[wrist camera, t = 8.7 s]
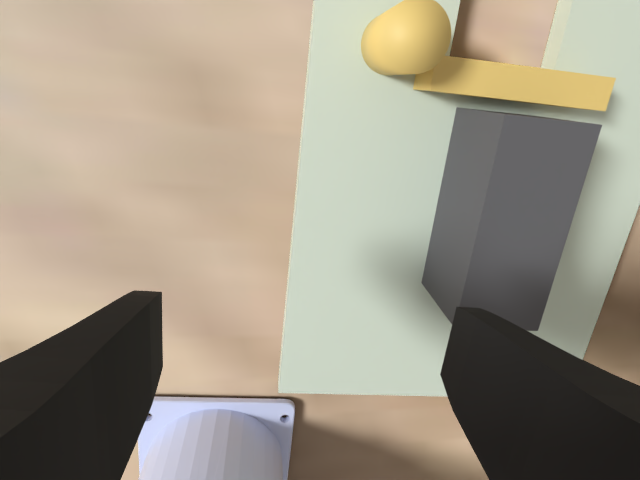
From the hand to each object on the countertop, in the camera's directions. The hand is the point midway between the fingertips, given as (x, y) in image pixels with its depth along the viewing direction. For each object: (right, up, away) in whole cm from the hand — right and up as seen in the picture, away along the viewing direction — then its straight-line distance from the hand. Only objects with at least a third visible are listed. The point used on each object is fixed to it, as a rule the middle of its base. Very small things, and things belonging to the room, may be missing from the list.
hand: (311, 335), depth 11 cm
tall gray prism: (+7, +4, +9) cm, 12 cm away
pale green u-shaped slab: (+7, +4, +10) cm, 13 cm away
